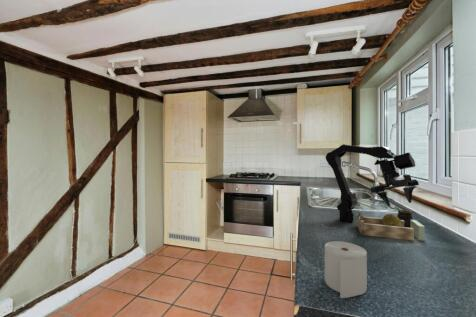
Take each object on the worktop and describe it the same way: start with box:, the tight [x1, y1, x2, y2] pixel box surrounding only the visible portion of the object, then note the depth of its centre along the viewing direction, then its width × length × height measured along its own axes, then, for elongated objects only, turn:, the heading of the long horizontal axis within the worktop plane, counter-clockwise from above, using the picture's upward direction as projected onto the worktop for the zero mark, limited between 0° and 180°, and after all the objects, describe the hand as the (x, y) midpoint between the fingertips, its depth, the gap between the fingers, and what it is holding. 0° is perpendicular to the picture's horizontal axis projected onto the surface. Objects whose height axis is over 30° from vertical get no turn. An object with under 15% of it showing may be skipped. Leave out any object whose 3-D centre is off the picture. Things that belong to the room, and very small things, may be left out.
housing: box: [356, 211, 415, 241], centre depth 103 cm, size 20×13×8 cm
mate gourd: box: [395, 206, 414, 228], centre depth 111 cm, size 7×8×10 cm
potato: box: [382, 213, 403, 227], centre depth 102 cm, size 8×13×8 cm, turn 140°
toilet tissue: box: [323, 240, 368, 299], centre depth 61 cm, size 11×12×10 cm
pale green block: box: [410, 219, 426, 242], centre depth 98 cm, size 2×10×6 cm, turn 158°
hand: (399, 204), depth 102 cm, fingers open, 9 cm apart
